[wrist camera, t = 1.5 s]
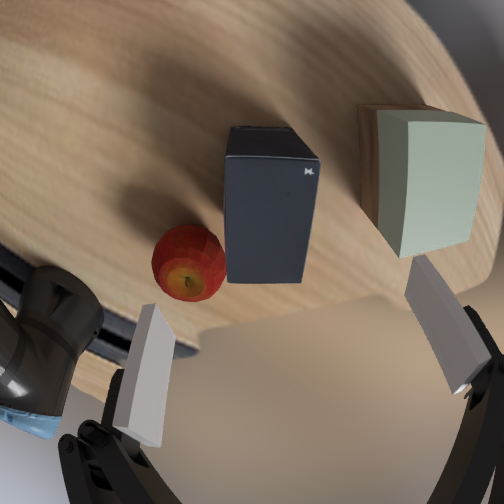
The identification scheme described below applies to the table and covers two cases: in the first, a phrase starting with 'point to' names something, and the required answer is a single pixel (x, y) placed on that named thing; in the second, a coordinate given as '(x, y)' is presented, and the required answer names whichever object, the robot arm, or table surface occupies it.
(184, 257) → the apple
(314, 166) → the small box
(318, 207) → the table surface
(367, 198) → the tower base
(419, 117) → the tower top
